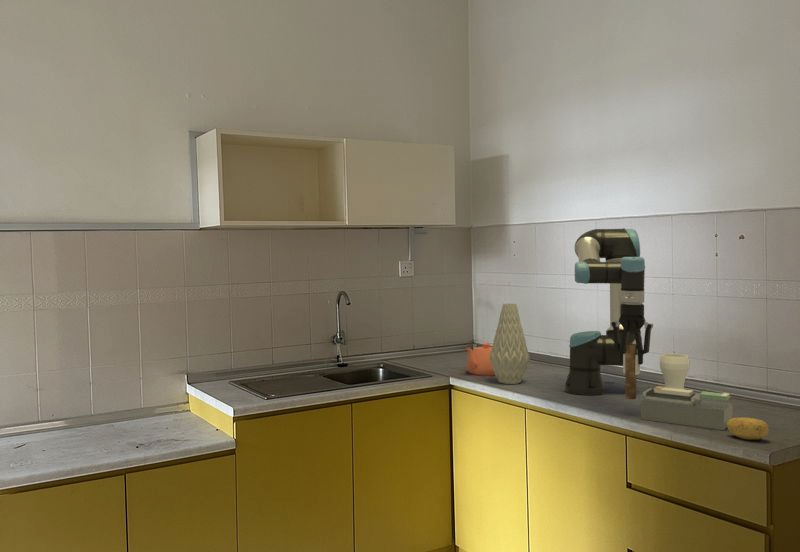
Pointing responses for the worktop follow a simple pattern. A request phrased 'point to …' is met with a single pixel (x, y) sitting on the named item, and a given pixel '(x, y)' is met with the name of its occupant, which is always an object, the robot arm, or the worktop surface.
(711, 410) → the grey storage bin
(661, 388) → the rocker
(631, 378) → the brown rounded rod
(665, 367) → the cup
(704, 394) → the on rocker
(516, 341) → the vase
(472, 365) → the teapot
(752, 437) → the potato
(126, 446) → the worktop surface
